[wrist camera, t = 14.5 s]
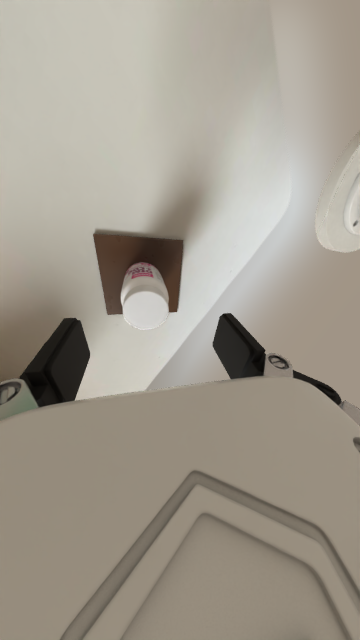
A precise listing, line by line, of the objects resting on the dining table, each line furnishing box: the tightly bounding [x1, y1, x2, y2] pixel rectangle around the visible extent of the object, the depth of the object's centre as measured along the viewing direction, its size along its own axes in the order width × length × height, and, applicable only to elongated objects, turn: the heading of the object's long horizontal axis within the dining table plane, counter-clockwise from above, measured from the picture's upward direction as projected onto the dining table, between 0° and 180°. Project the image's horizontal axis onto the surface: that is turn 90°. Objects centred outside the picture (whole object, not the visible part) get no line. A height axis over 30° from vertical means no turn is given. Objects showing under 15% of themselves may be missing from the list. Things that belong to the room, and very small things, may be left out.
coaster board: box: [93, 234, 183, 315], centre depth 21 cm, size 10×10×1 cm
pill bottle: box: [121, 262, 169, 330], centre depth 17 cm, size 5×5×8 cm
